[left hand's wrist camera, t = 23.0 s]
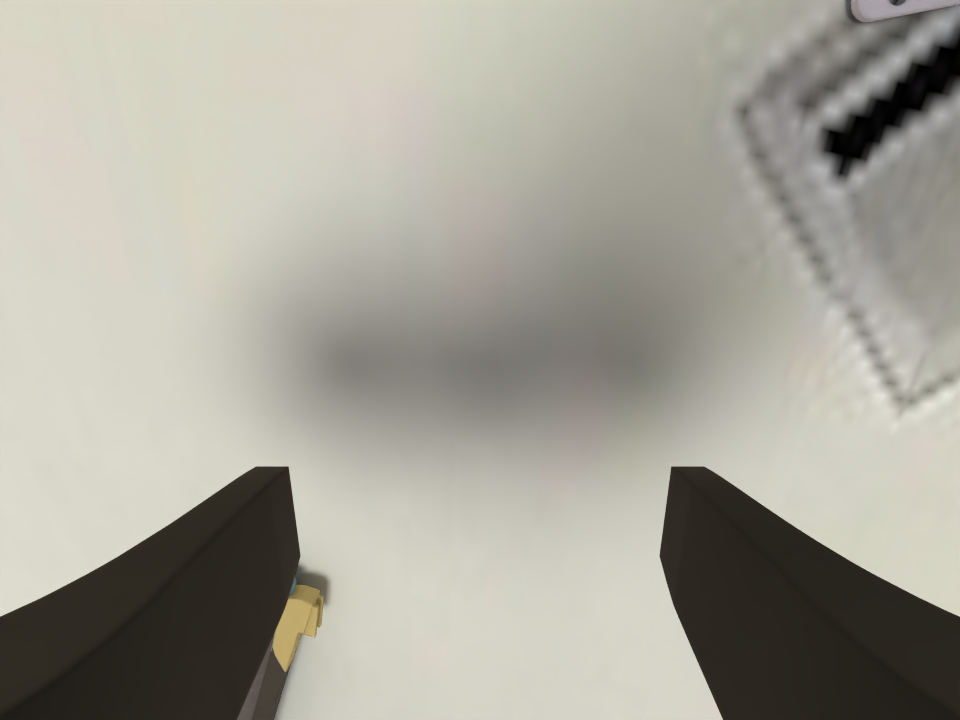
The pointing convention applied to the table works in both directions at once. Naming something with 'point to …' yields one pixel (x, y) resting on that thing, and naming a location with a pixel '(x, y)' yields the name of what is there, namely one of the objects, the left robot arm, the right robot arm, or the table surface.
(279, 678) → the toy gun
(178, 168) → the table surface
